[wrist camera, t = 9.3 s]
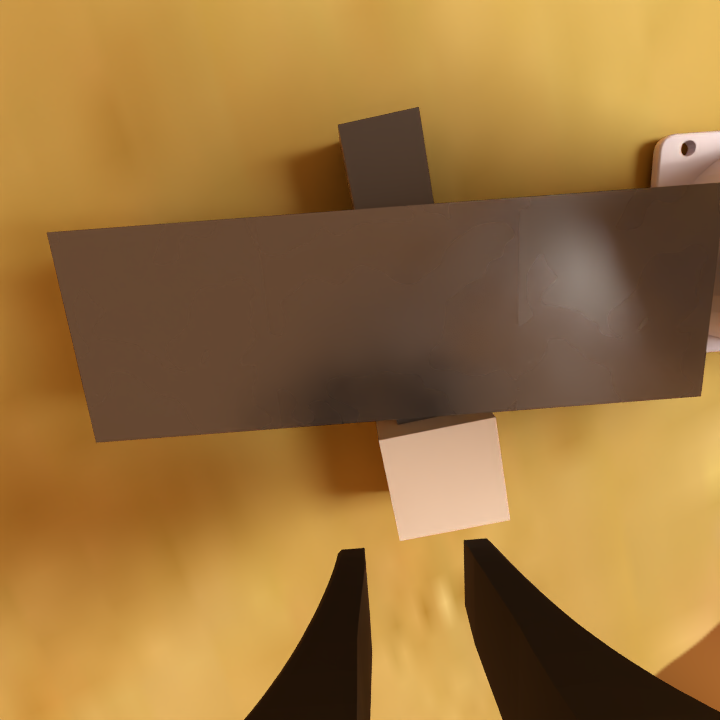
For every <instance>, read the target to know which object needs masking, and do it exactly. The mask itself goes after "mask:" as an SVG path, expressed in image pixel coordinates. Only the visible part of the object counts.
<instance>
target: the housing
mask: <svg viewBox="0 0 720 720" xmlns="http://www.w3.org/2000/svg"><path fill="white" fill-rule="evenodd" d="M47 235H48V239H49V244H50V248H51V252H52V256H53V261H54V265H55V269H56V273H57V278H58V282H59V286H60V291H61V295H62V299H63V303H64V308H65V312H66V316H67V320H68V325H69V329H70V333H71V337H72V342H73V346H74V350H75V354H76V359H77V363H78V367H79V371H80V376H81V380H82V384H83V388H84V393H85V397H86V401H87V405H88V410H89V414H90V418H91V422H92V427H93V431H94V435H95V439H96V442H109V441H122V440H135V439H148V438H162V437H175V436H188V435H201V434H214V433H227V432H240V431H253V430H266V429H279V428H292V427H305V426H318V425H331V424H344V423H358V422H371V421H384V420H397V419H410V418H423V417H436V416H449V415H462V414H475V413H488V412H501V411H514V410H527V409H540V408H553V407H567V406H580V405H593V404H606V403H619V402H632V401H645V400H658V399H671V398H684V397H697V396H701V391H702V383H703V374H704V366H705V358H706V349H707V341H708V333H709V325H710V316H711V308H712V300H713V291H714V283H715V275H716V267H717V258H718V250H719V242H720V182H719V183H706V184H692V185H679V186H665V187H652V188H638V189H625V190H612V191H598V192H585V193H571V194H558V195H545V196H531V197H518V198H504V199H491V200H477V201H464V202H451V203H437V204H424V205H410V206H397V207H383V208H370V209H357V210H343V211H330V212H316V213H303V214H290V215H276V216H263V217H249V218H236V219H222V220H209V221H196V222H182V223H169V224H155V225H142V226H128V227H115V228H102V229H88V230H75V231H61V232H48V233H47Z"/></svg>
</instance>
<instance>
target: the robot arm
mask: <svg viewBox="0 0 720 720" xmlns="http://www.w3.org/2000/svg"><path fill="white" fill-rule="evenodd" d="M683 143H685V144H686V145H687V147H688V151H687V154H686V155H685V156H684V155H683V154H682V153H681V147H682V144H683ZM719 182H720V131H709V132H696V133H682V134H673V135H670V136H667V137H664V138H662V139H661V140H660V141H658V143H657V144H656V146H655V149H654V153H653V165H652V178H651V188H652V187H665V186H679V185H692V184H706V183H719ZM718 351H720V242H719V250H718V258H717V267H716V275H715V283H714V291H713V300H712V308H711V316H710V325H709V333H708V341H707V349H706V352H718ZM464 579H465V607H466V611H467V615H468V619H469V623H470V627H471V631H472V635H473V639H474V642H475V646H476V648H477V651H478V654H479V657H480V660H481V662H482V665H483V668H484V670H485V673H486V676H487V679H488V681H489V684H490V687H491V689H492V692H493V695H494V698H495V700H496V703H497V706H498V708H499V711H500V714H501V716H502V719H503V720H720V712H719V711H717V710H715V709H713V708H711V707H709V706H707V705H705V704H704V703H702V702H700V701H698V700H696V699H694V698H692V697H691V696H689V695H687V694H685V693H683V692H681V691H679V690H677V689H676V688H674V687H672V686H671V685H669V684H667V683H665V682H664V681H662V680H660V679H659V678H657V677H655V676H654V675H652V674H650V673H649V672H647V671H646V670H644V669H643V668H641V667H639V666H638V665H636V664H635V663H633V662H631V661H630V660H628V659H627V658H625V657H624V656H622V655H621V654H619V653H618V652H616V651H615V650H613V649H612V648H610V647H609V646H607V645H606V644H605V643H603V642H602V641H601V640H599V639H598V638H596V637H595V636H594V635H592V634H591V633H590V632H588V631H587V630H585V629H584V628H583V627H582V626H580V625H579V624H578V623H576V622H575V621H574V620H573V619H571V618H570V617H569V616H568V615H567V614H565V613H564V612H563V611H562V610H561V609H559V608H558V607H557V606H556V605H555V604H554V603H553V602H551V601H550V600H549V599H548V598H547V597H546V596H545V595H544V594H543V593H541V592H540V591H539V590H538V589H537V588H536V587H535V586H534V585H533V584H532V583H531V582H530V581H529V580H528V579H526V578H525V577H524V576H523V575H522V574H521V573H520V572H519V571H518V570H517V569H516V568H515V567H514V566H513V565H512V564H511V563H510V562H509V561H508V560H507V559H506V558H505V556H504V555H503V554H502V553H501V552H500V551H499V550H498V549H497V548H496V547H495V546H494V545H493V544H492V543H491V542H490V541H489V540H488V539H474V540H464ZM371 674H372V642H371V626H370V610H369V598H368V585H367V573H366V561H365V548H358V549H345V550H341V551H340V552H339V553H338V556H337V560H336V563H335V567H334V570H333V573H332V575H331V578H330V581H329V583H328V586H327V588H326V590H325V593H324V595H323V597H322V599H321V601H320V604H319V606H318V608H317V610H316V612H315V614H314V616H313V618H312V620H311V622H310V624H309V625H308V627H307V629H306V631H305V633H304V635H303V637H302V638H301V640H300V642H299V644H298V645H297V647H296V649H295V650H294V652H293V654H292V655H291V657H290V658H289V660H288V661H287V663H286V664H285V666H284V668H283V669H282V671H281V672H280V673H279V675H278V676H277V678H276V679H275V680H274V682H273V683H272V685H271V686H270V687H269V689H268V690H267V692H266V693H265V694H264V696H263V697H262V698H261V700H260V701H259V702H258V703H257V705H256V706H255V707H254V709H253V710H252V711H251V712H250V713H249V714H248V716H247V717H246V718H245V719H244V720H370V708H371Z"/></svg>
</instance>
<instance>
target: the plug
mask: <svg viewBox="0 0 720 720" xmlns="http://www.w3.org/2000/svg"><path fill="white" fill-rule="evenodd" d="M338 130H339V140H340V146H341V151H342V156H343V161H344V166H345V171H346V176H347V181H348V186H349V191H350V196H351V201H352V206H353V210H357V209H370V208H383V207H397V206H410V205H424V204H434V201H433V195H432V188H431V182H430V176H429V169H428V163H427V156H426V150H425V144H424V137H423V131H422V124H421V118H420V112H419V107H416V108H412V109H407V110H403V111H398V112H394V113H389V114H385V115H380V116H376V117H371V118H367V119H362V120H358V121H353V122H349V123H344V124H340V125H338ZM376 425H377V432H378V439H379V444H380V449H381V454H382V458H383V463H384V468H385V472H386V477H387V482H388V487H389V491H390V496H391V501H392V505H393V510H394V515H395V520H396V524H397V529H398V534H399V538H400V541H403V540H408V539H413V538H419V537H424V536H429V535H434V534H439V533H445V532H450V531H455V530H460V529H465V528H471V527H476V526H481V525H486V524H491V523H497V522H502V521H507V520H510V516H509V509H508V501H507V494H506V487H505V480H504V473H503V466H502V458H501V451H500V444H499V437H498V430H497V423H496V417H495V416H494V415H493V413H492V412H488V413H475V414H462V415H449V416H436V417H423V418H410V419H397V420H384V421H376Z"/></svg>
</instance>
